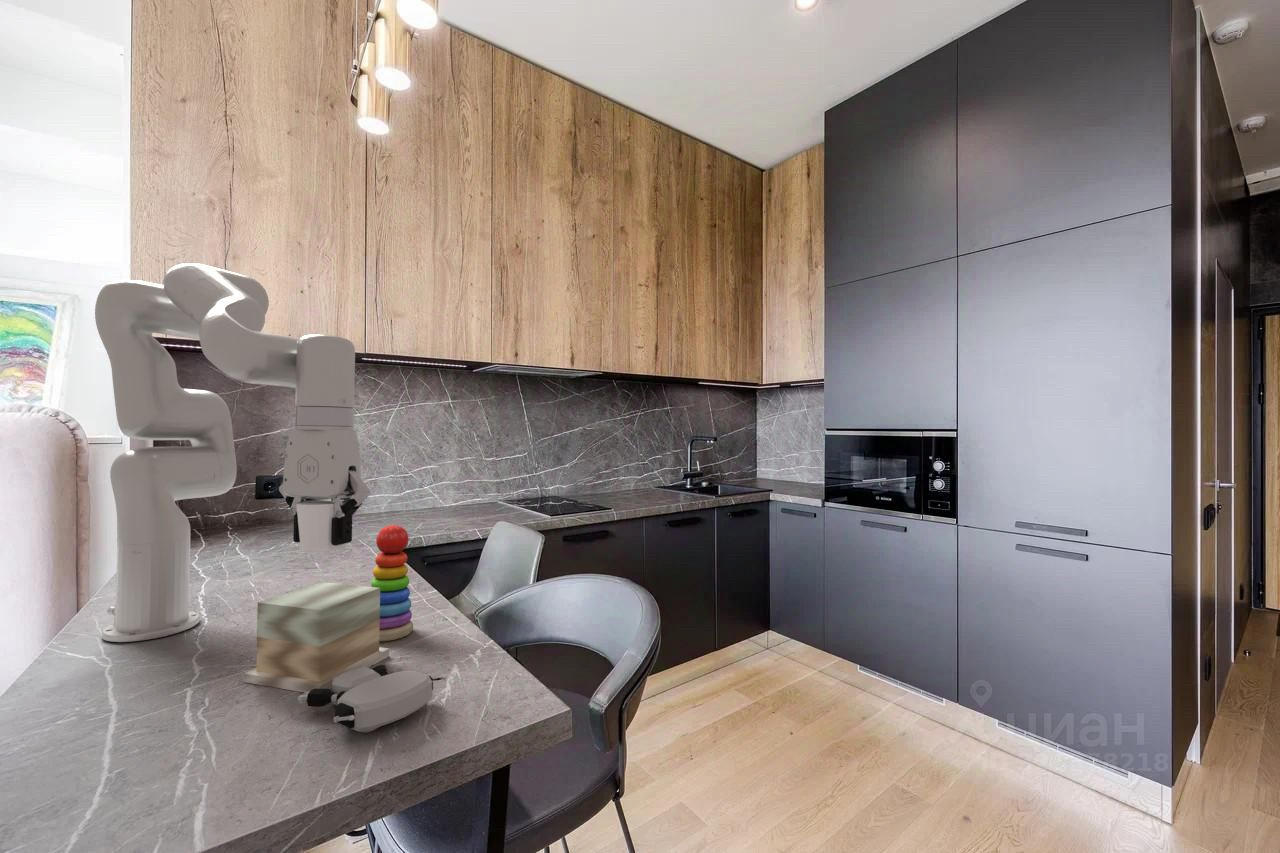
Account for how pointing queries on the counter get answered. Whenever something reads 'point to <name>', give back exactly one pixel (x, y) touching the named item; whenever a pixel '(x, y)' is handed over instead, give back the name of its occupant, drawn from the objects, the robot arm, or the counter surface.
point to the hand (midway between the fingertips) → (322, 540)
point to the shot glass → (316, 525)
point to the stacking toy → (393, 583)
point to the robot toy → (373, 696)
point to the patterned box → (316, 636)
